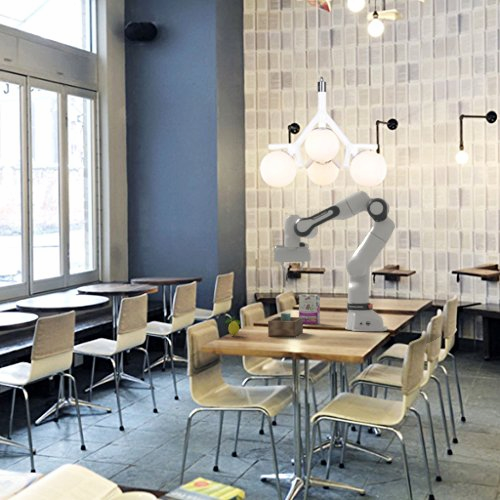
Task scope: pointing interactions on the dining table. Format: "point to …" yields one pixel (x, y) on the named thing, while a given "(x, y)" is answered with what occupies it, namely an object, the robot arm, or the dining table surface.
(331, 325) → the dining table surface
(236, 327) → the lemon
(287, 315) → the peg
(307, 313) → the candy bar box
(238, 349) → the dining table surface
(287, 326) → the walnut box
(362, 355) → the dining table surface
